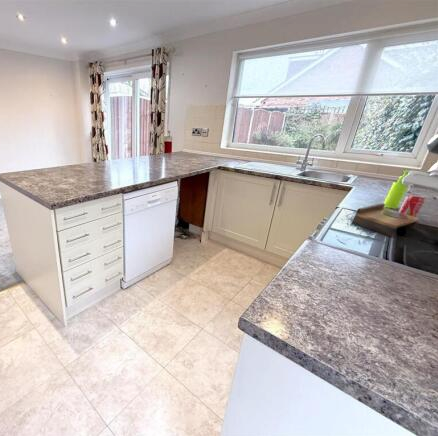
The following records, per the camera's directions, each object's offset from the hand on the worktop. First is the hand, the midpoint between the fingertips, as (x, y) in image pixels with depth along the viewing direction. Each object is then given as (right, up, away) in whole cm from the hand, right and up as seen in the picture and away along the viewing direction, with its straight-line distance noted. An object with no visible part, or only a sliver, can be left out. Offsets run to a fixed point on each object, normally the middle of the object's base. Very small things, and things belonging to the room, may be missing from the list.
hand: (421, 195), depth 117 cm
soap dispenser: (+3, -5, +18) cm, 18 cm away
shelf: (-25, -14, -7) cm, 30 cm away
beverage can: (-6, -11, +2) cm, 13 cm away
